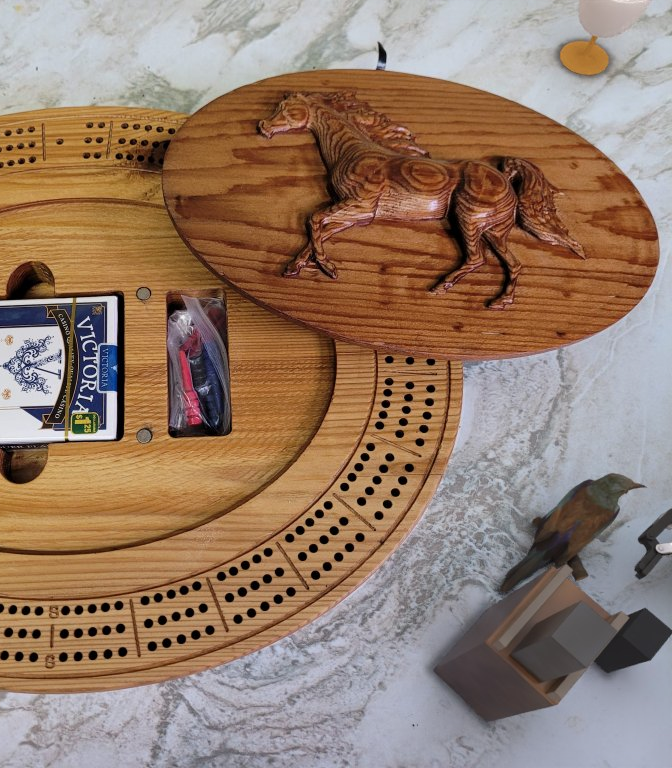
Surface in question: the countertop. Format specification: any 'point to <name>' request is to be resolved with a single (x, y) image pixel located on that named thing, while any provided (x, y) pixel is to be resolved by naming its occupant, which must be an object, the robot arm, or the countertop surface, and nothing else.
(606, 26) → the cup
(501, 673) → the pedestal
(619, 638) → the back pad
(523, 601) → the pad mount
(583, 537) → the bird figurine
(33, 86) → the countertop surface
